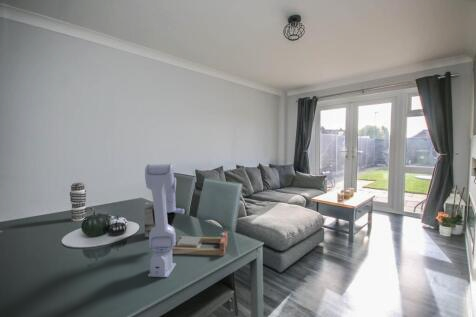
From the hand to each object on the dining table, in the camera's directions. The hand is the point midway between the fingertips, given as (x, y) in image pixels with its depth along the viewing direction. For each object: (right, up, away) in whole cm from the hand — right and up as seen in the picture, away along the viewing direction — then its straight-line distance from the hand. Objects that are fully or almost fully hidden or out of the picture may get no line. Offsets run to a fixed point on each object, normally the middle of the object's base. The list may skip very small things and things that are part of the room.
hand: (170, 227), depth 110 cm
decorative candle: (-76, -8, +42) cm, 87 cm away
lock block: (+10, -10, 0) cm, 14 cm away
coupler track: (+15, -10, -1) cm, 18 cm away
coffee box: (-14, -9, +16) cm, 23 cm away
